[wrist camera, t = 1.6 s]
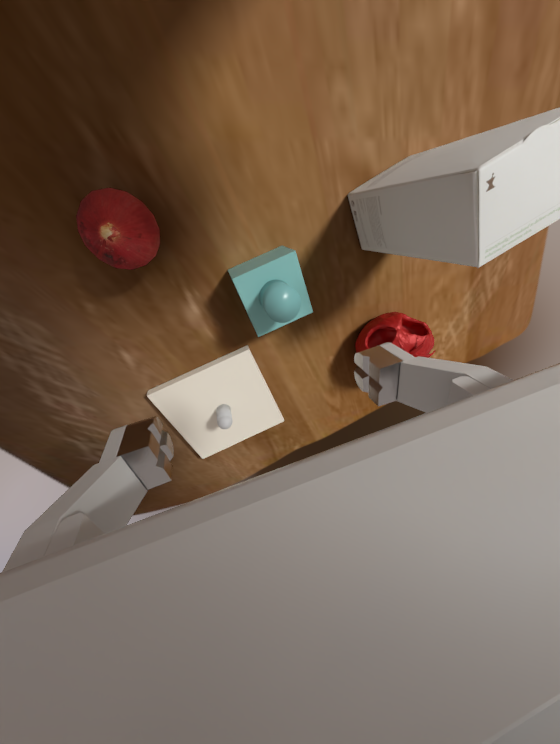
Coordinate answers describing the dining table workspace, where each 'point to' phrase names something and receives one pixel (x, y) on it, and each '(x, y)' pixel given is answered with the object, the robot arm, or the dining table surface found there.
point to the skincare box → (465, 195)
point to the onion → (118, 228)
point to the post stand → (218, 403)
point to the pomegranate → (397, 334)
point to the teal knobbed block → (272, 289)
